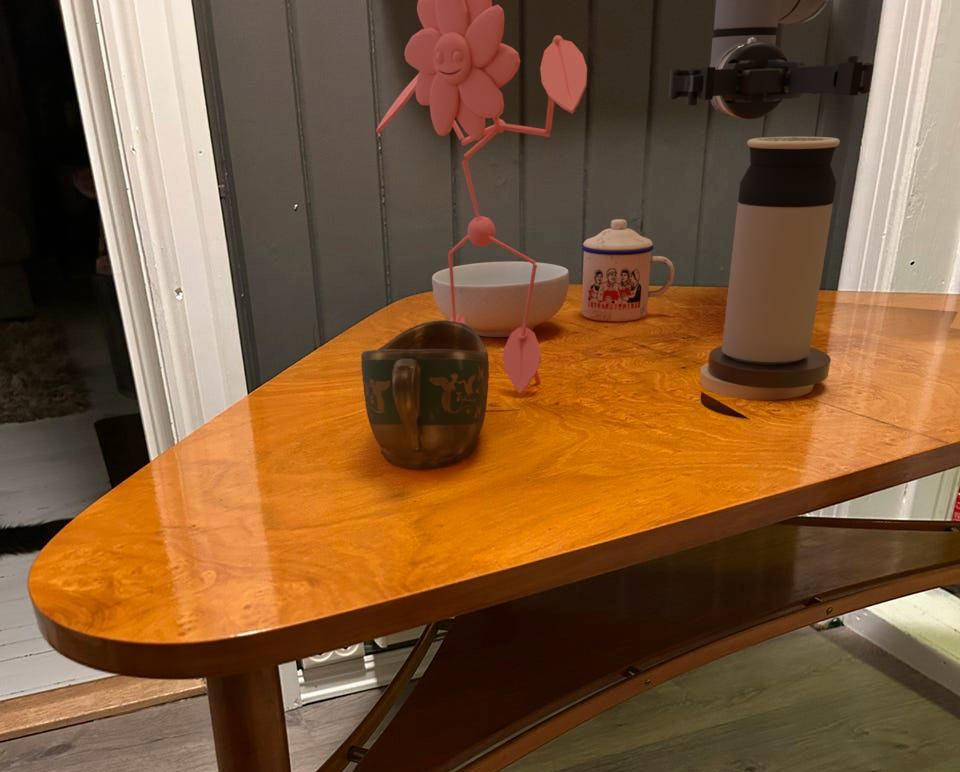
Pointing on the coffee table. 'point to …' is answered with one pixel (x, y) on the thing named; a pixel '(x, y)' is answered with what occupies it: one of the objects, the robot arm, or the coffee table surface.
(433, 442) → the cup
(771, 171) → the travel mug
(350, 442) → the coffee table surface
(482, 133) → the figurine
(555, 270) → the cereal bowl
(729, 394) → the coaster pile
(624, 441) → the coffee table surface
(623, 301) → the teacup with lid
